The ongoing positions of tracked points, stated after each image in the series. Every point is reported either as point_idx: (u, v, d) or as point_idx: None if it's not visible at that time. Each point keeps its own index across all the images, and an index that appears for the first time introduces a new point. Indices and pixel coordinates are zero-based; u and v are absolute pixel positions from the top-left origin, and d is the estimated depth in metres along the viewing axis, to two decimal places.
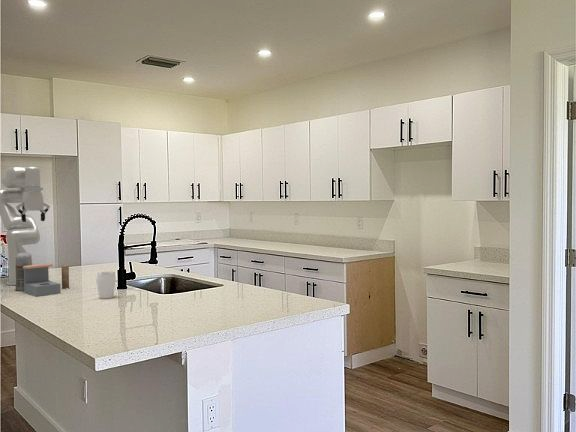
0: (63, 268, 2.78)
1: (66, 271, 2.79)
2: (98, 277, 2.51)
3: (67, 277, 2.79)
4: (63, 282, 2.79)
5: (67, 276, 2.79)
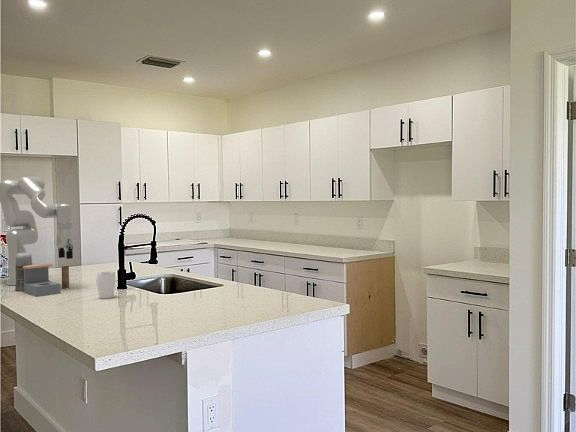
0: (63, 268, 2.78)
1: (66, 271, 2.79)
2: (98, 277, 2.51)
3: (67, 277, 2.79)
4: (63, 282, 2.79)
5: (67, 276, 2.79)
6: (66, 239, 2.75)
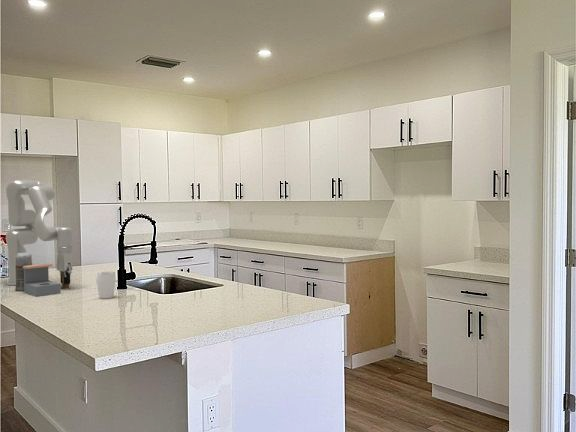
0: None
1: None
2: (98, 277, 2.51)
3: None
4: (63, 282, 2.79)
5: None
6: (66, 263, 2.76)
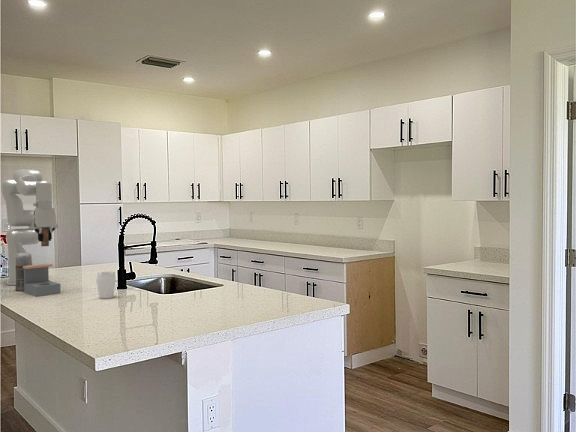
0: None
1: None
2: (98, 277, 2.51)
3: None
4: (48, 239, 2.64)
5: None
6: None
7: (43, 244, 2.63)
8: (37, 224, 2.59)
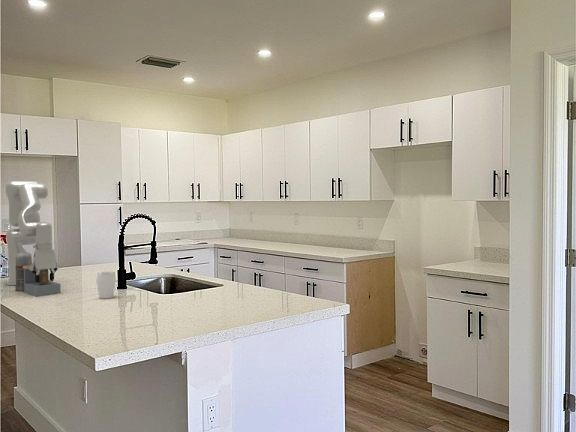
0: (47, 272, 2.64)
1: None
2: (98, 277, 2.51)
3: None
4: None
5: None
6: None
7: None
8: (37, 266, 2.59)
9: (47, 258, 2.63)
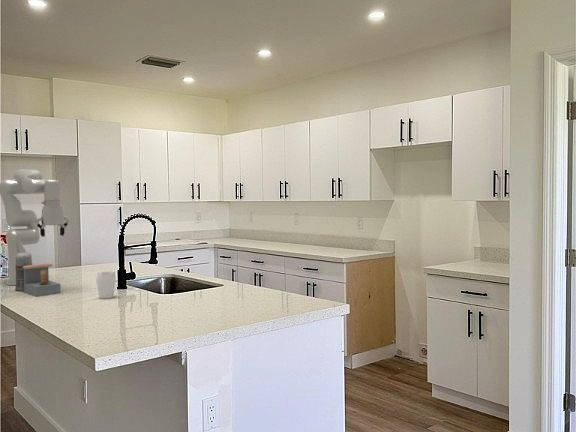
0: (47, 272, 2.64)
1: None
2: (98, 277, 2.51)
3: None
4: None
5: None
6: None
7: None
8: (45, 222, 2.65)
9: (55, 214, 2.68)
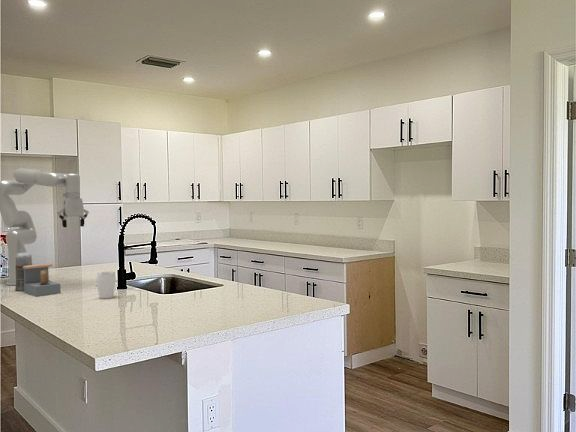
0: (47, 272, 2.64)
1: None
2: (98, 277, 2.51)
3: None
4: None
5: None
6: None
7: None
8: (67, 213, 2.80)
9: (76, 206, 2.83)
